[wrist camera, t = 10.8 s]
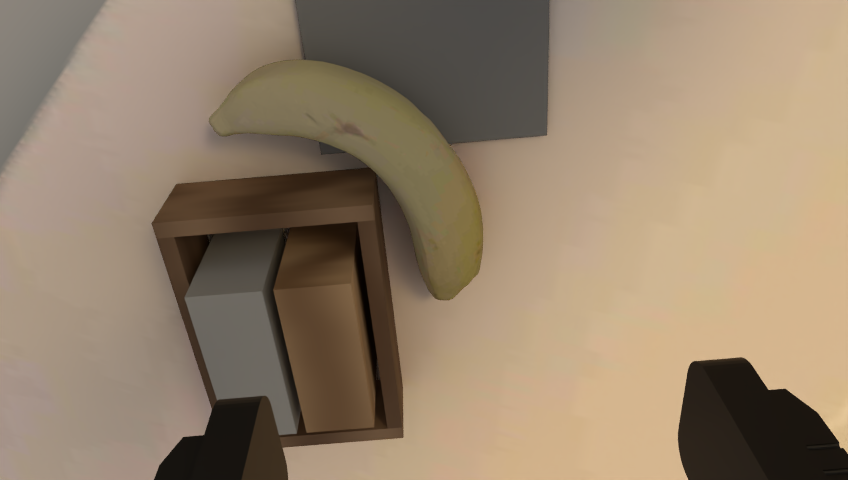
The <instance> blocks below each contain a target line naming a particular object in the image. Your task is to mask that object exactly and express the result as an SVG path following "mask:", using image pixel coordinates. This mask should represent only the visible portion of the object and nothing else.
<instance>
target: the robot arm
mask: <svg viewBox="0 0 848 480" xmlns="http://www.w3.org/2000/svg"><path fill="white" fill-rule="evenodd" d="M678 444H679V452H680V457H681V461H682V465H683V467H684V470H685V473H686V475H687V477H688V480H848V454H847V452H846V451H845V450H844V448H840V446H839V442H838V440H837V439H836V437H835V436H834V435H833V433H832V432H831V431H830V429H829V428H828V426H827V425H826V424H825V422H824V421H823V420H822V418H821V417H820V416H819V414H818V413H817V412H816V411H814V410H813V409H812V408H810V407H809V406H808V405H806V404H805V403H804V402H802V401H801V400H800V399H798V398H797V397H796V396H794V395H793V394H792V393H790V392H789V391H788V390H786V389H777V390H768V389H767V387H766V386H765V384H764V383H763V381H762V380H761V378H760V377H759V375H758V374H757V372H756V371H755V369H754V368H753V366H752V365H751V364H750V362H749V361H747V360H746V359H745V358H729V359H717V360H705V361H694V362H692V363H691V364H690V366H689V369H688V373H687V379H686V386H685V392H684V398H683V404H682V411H681V417H680V423H679V429H678ZM154 480H288V472H287V465H286V460H285V456H284V452H283V448H282V445H281V441H280V437H279V433H278V429H277V425H276V422H275V418H274V414H273V410H272V406H271V403H270V400H269V398H268V397H267V396H255V397H243V398H231V399H219V400H217V401H216V403H215V404H214V406H213V409H212V412H211V415H210V418H209V422H208V425H207V428H206V431H205V434H204V435H203V436H190V437H183V438H182V439H181V440H180V442H179V443H178V444H177V445H176V446H175V448H174V449H173V450H172V451H171V452H170V453H169V455H168V456H167V457H166V458H165V459H164V461H163V462H162V463H161V464H160V465H159V468H158V471H157V473H156V476H155V479H154Z"/></svg>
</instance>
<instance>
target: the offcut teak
mask: <svg viewBox="0 0 848 480" xmlns="http://www.w3.org/2000/svg"><path fill="white" fill-rule="evenodd" d="M273 291H274V295H275V300H276V304H277V308H278V313H279V317H280V321H281V325H282V330H283V334H284V338H285V342H286V347H287V351H288V355H289V360H290V364H291V368H292V372H293V377H294V381H295V385H296V389H297V394H298V398H299V402H300V406H301V411H302V415H303V419H304V424H305V428H306V432H307V433H310V432H323V431H335V430H347V429H360V428H372V427H374V421H375V396H376V371H377V353H376V346H375V339H374V332H373V326H372V319H371V312H370V305H369V298H368V292H367V285H366V278H365V271H364V264H363V258H362V251H361V244H360V237H359V230H358V224H357V222H348V223H336V224H325V225H313V226H301V227H290V231H289V234H288V238H287V242H286V245H285V249H284V253H283V256H282V260H281V264H280V267H279V271H278V275H277V278H276V282H275V285H274V289H273Z"/></svg>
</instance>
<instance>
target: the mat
mask: <svg viewBox="0 0 848 480" xmlns="http://www.w3.org/2000/svg"><path fill="white" fill-rule="evenodd" d="M295 2H296V8H297V14H298V20H299V26H300V31H301V37H302V43H303V49H304V55H305V60H313V61H323V62H327V63H331V64H335V65H339V66H342V67H346V68H349V69H352V70H354V71H357V72H360V73H363V74H365V75H367V76H370V77H372V78H374V79H376V80H378V81H380V82H382V83H383V84H385V85H387V86H389V87H390V88H392V89H394V90H395V91H397V92H398V93H400V94H401V95H403V96H404V97H405V98H407V99H408V100H409V101H411V102H412V103H413V104H414V105H415V106H416V107H417V108H418V109H419V111H421V112H422V113H423V114H424V115H425V116H426V117H427V118H429V119H430V120H431V121H432V123H433V124H434V125H435V126H436V127H437V129H438V130H439V131H440V133H441V134H442V135H443V137H444V138H445V140H446V141H447V142H448V144H451V143H462V142H474V141H486V140H498V139H509V138H521V137H533V136H545V135H547V111H548V50H549V0H295ZM319 144H320V150H321V155H322V154H334V153H345V151H343V150H341V149H338V148H336V147H334V146H331V145H329V144H326V143H323V142H319Z"/></svg>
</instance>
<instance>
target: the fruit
mask: <svg viewBox="0 0 848 480" xmlns="http://www.w3.org/2000/svg"><path fill="white" fill-rule="evenodd" d="M209 123H210V125H211V126H212V127H213V129H214V131H215V132H216V133H217V134H218V135H219V136H230V135H233V134H243V133H255V134H271V135H283V136H297V137H303V138H308V139H312V140H316V141H319V142H323V143H326V144H329V145H331V146H334V147H336V148H338V149H341V150H343V151H345V152H347V153H349V154H351V155H353V156H355V157H356V158H358V159H359V160H361V161H362V162H363V163H365V164H366V165H367V166H369V167H370V168H371V169H372V170H373V171H374V172H375V173H376V174H377V175H378V176H379V177H380V178H381V179H382V180H383V181H384V182H385V184H386V185H387V186H388V187H389V189H390V190H391V192H392V193H393V195H394V197H395V198H396V200H397V202H398V203H399V205H400V207H401V209H402V211H403V213H404V216H405V218H406V220H407V222H408V225H409V228H410V232H411V236H412V241H413V245H414V249H415V254H416V258H417V262H418V266H419V269H420V272H421V275H422V277H423V280H424V282H425V284H426V286H427V288H428V290H429V291H430V293H431V294H432V295H433V297H434V298H435V299H438V300H450V299H453V298H454V297H455V296H456V295H457V294H458V293H459V292H460V291H461V290H462V289H463V288H464V287H465V286H467V285H468V284H469V283H470V281H471V280H472V279H473V278H474V277H475V276H476V275H477V274H478V272H479V270H480V263H481V258H482V250H483V224H482V216H481V210H480V206H479V202H478V198H477V195H476V192H475V190H474V187H473V185H472V183H471V180H470V178H469V176H468V174H467V172H466V170H465V168H464V166H463V165H462V163H461V161H460V159H459V158H458V156H457V155H456V153H455V152H454V150H453V149H452V148H451V147H450V145H449V144H448V142H447V141H446V140H445V138H444V137H443V135H442V134H441V133H440V131H439V130H438V129H437V127H436V126H435V125H434V124H433V123H432V121H431V120H430V119H429V118H427V117H426V116H425V115H424V114H423V113H422V112H421V111H419V109H418V108H417V107H416V106H415V105H414V104H413V103H412V102H411V101H409V100H408V99H407V98H405V97H404V96H403V95H401V94H400V93H398V92H397V91H395V90H394V89H392V88H390V87H389V86H387V85H385V84H383V83H382V82H380V81H378V80H376V79H374V78H372V77H370V76H367V75H365V74H363V73H360V72H357V71H354V70H352V69H349V68H346V67H342V66H339V65H335V64H331V63H327V62H323V61H313V60H286V61H280V62H275V63H271V64H268V65H265V66H263V67H260V68H258V69H256V70H255V71H253V72H252V73H250V74H249V75H248V76H247V77H245V78H244V79H243V80H242V81H241V82H240V83H239V84H237V85H236V87H235V88H234V89H233V90H232V91H231V92H230V94H229V95H228V96H227V98H226V99H225V100H224V102H223V103H222V104H221V106H220V107H219V108H218V109H217V110H216V111H215V112H214V113H213V114H212V115H211V117H210V118H209Z"/></svg>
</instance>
